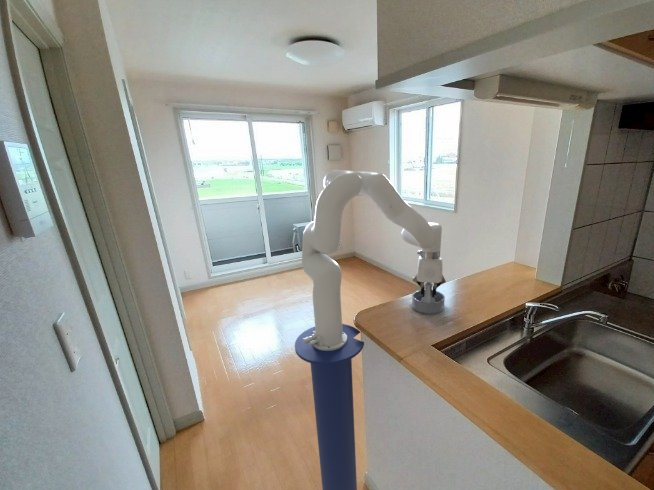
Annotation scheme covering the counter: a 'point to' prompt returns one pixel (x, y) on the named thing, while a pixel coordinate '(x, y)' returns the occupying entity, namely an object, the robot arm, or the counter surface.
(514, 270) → the counter surface
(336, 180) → the robot arm
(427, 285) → the flask
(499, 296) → the counter surface
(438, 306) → the bowl
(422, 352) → the counter surface
